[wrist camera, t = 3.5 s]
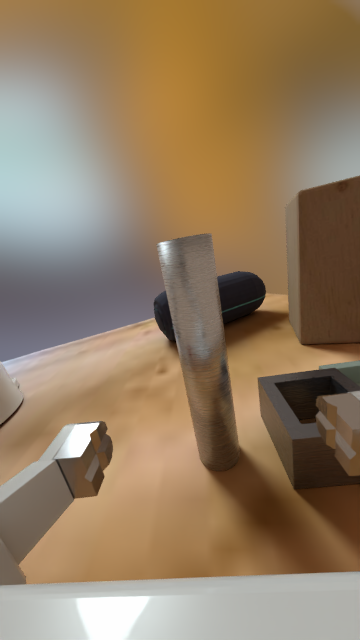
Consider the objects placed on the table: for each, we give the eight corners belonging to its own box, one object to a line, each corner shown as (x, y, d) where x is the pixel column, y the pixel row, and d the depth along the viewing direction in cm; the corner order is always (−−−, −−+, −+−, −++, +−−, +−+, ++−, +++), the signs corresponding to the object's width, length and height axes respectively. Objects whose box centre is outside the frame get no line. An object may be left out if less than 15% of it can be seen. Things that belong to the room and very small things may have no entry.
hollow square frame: (293, 489, 13) (292, 439, 12) (260, 415, 19) (257, 377, 18) (403, 480, 13) (412, 427, 11) (333, 406, 19) (335, 367, 18)
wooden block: (388, 343, 27) (408, 162, 21) (300, 345, 30) (297, 190, 25) (354, 318, 36) (361, 186, 30) (288, 322, 39) (284, 204, 34)
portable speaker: (239, 307, 55) (235, 268, 52) (272, 312, 46) (269, 266, 44) (152, 338, 44) (141, 292, 42) (174, 353, 36) (162, 295, 33)
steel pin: (199, 472, 15) (152, 243, 11) (198, 436, 18) (160, 246, 14) (244, 468, 15) (214, 231, 10) (235, 432, 18) (208, 236, 14)
